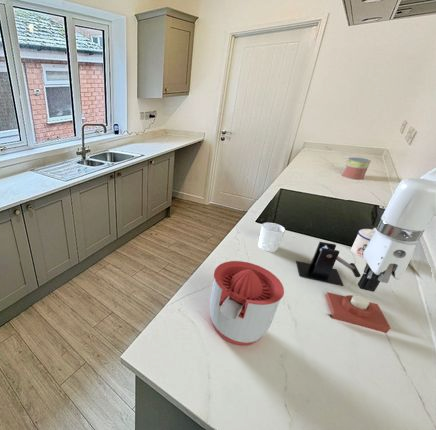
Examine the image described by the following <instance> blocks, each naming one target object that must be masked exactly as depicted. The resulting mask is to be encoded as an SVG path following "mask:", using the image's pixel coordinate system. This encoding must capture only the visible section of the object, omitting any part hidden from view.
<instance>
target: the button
mask: <svg viewBox="0 0 436 430" xmlns="http://www.w3.org/2000/svg"><path fill="white" fill-rule="evenodd" d="M369 302H370V301H369V300H368V299H367V298H364V297H363V296H360V295H353V297H352V299H351V301H350V303H351V304H352V305H353V306H355V307H357V308H360V309H367V307H368V305H369Z"/></svg>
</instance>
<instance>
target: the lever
mask: <svg viewBox="0 0 436 430" xmlns="http://www.w3.org/2000/svg"><path fill="white" fill-rule="evenodd" d="M322 248H327V249H331V248H330V247H329V246H327V245H325V246H324V247H322ZM322 248H321V249H322ZM321 249H320V251H321ZM332 250H333V249H332ZM336 261H337V262H339V263H340V264H341V265H343V266H345V267H346V268H348V269H349V270H351V271H352V274H353V275H354V277H355V278H361V277H362V275H361V273H360V271H359V269H358V268H357V266H356V264H355V263H354V262H350V263H349V262H347V261H346V260H344V259H343V258H341V257H340V256H338V257H337V259H336Z"/></svg>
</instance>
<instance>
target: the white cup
mask: <svg viewBox="0 0 436 430" xmlns="http://www.w3.org/2000/svg"><path fill="white" fill-rule="evenodd" d="M285 233H286V228H285V227H284V226H283V225H281V224H278V223H275V222H263V223H262V224H261V227H260V232H259V236H258V237H259V238H258V243H257V246H258V248H259V249H260V250H263V251H265V252H268V253H275V252H277V251H278V249H279V247H280V245H281V242H282V240H283V237H284V235H285Z"/></svg>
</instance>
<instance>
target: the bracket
mask: <svg viewBox="0 0 436 430" xmlns="http://www.w3.org/2000/svg"><path fill="white" fill-rule="evenodd" d="M325 245H327V246H329V247H330V248H331V249H327V248H322V247H324V246H325ZM336 247H337V244H335V243H329V242H325V241H319V242H318V244H317V246H316V249H315V252H314V254H313V257H312V260H311V262H310V263H309V262H305V261H299V260H296V261H295V264H296V267H297V271H298V276H299V277H300V278H305V279H308V280H314V281H319V282H322V283H327V284H332V285H335V286H340V287H344V285H345V284H344V283H343V281H342V278H341V276H340V274H339V271H338V269H337V268H334V266H335V263H336V261H337V260H336V259H337V257H339V254H340V250H337V249H336ZM321 248H322V249H321ZM320 249H321V251H320ZM332 249H333V250H332Z"/></svg>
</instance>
